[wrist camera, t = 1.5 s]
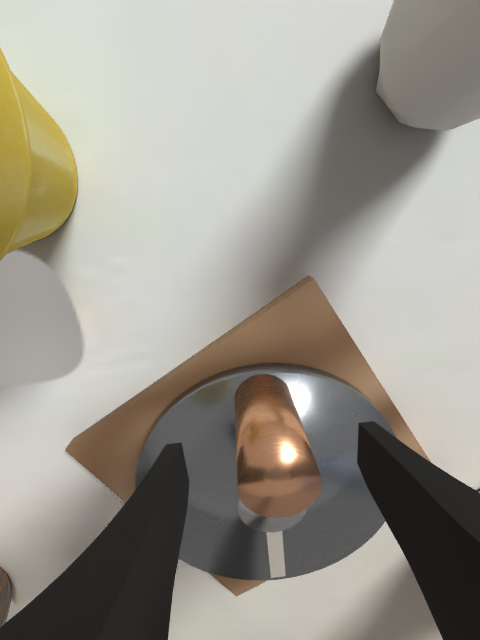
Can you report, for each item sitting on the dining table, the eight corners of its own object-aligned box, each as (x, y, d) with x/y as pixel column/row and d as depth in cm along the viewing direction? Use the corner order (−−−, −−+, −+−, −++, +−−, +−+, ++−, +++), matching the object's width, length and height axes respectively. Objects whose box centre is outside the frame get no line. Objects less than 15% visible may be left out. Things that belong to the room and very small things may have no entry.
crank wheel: (384, 548, 21) (450, 684, 15) (166, 572, 21) (139, 719, 15) (401, 347, 16) (512, 427, 10) (113, 378, 16) (40, 478, 10)
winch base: (437, 475, 21) (447, 488, 20) (236, 581, 24) (236, 596, 23) (308, 275, 16) (314, 279, 15) (73, 438, 19) (64, 450, 18)
